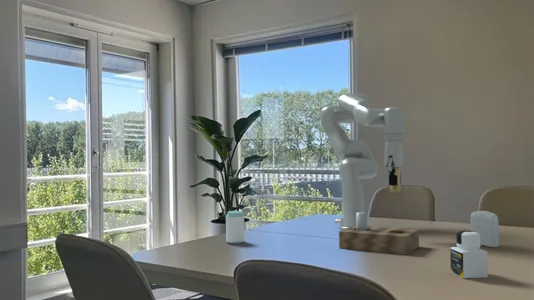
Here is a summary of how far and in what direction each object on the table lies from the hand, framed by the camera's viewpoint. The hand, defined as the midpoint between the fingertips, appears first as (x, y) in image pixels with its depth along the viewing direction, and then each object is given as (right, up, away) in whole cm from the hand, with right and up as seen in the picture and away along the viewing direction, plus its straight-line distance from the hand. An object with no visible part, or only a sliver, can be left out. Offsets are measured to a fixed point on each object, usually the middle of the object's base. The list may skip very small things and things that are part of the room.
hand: (395, 184), depth 187 cm
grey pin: (-16, -19, -13) cm, 28 cm away
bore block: (-10, -21, -17) cm, 29 cm away
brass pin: (0, -3, 0) cm, 3 cm away
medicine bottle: (+5, -21, -57) cm, 61 cm away
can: (-63, -22, -3) cm, 67 cm away
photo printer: (+28, -21, -16) cm, 38 cm away
